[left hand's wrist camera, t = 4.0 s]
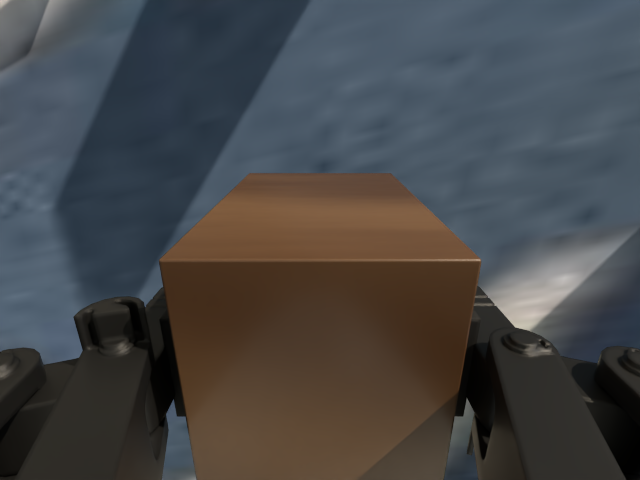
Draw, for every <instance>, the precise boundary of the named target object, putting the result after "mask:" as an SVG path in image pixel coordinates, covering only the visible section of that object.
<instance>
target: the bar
mask: <svg viewBox="0 0 640 480" xmlns="http://www.w3.org/2000/svg"><path fill="white" fill-rule="evenodd" d="M159 264H160V270H161V276H162V282H163V288H164V293H165V299H166V305H167V311H168V317H169V322H170V328H171V334H172V340H173V346H174V351H175V357H176V363H177V369H178V375H179V380H180V386H181V392H182V398H183V404H184V409H185V415H186V421H187V427H188V433H189V438H190V444H191V450H192V456H193V462H194V467H195V473H196V479H197V480H444V474H445V469H446V463H447V457H448V451H449V446H450V440H451V434H452V428H453V422H454V417H455V411H456V405H457V399H458V394H459V388H460V382H461V376H462V370H463V365H464V359H465V353H466V347H467V342H468V336H469V330H470V324H471V318H472V313H473V307H474V301H475V295H476V290H477V284H478V278H479V272H480V266H481V259H480V258H479V257H478V256H477V255H476V254H475V253H474V252H473V251H472V250H471V249H469V248H468V247H467V246H466V245H465V244H464V243H463V242H462V241H461V240H460V239H459V238H458V237H457V236H456V235H455V234H454V233H453V232H452V231H451V230H450V229H449V228H447V227H446V226H445V225H444V224H443V223H442V222H441V221H440V220H439V219H438V218H437V217H436V216H435V215H434V214H433V213H432V212H431V211H430V210H429V209H428V208H427V207H425V206H424V205H423V204H422V203H421V202H420V201H419V200H418V199H417V198H416V197H415V196H414V195H413V194H412V193H411V192H410V191H409V190H408V189H407V188H406V187H405V186H404V185H402V184H401V183H400V182H399V181H398V180H397V179H396V178H395V177H394V176H393V175H392V174H391V173H250V174H248V175H247V176H246V177H245V178H244V179H243V180H242V181H241V182H240V183H239V184H238V185H237V186H236V187H235V188H234V189H233V190H232V191H231V192H229V193H228V194H227V195H226V196H225V197H224V198H223V199H222V200H221V201H220V202H219V203H218V204H217V205H216V206H215V207H214V208H213V209H212V210H211V211H210V212H208V213H207V214H206V215H205V216H204V217H203V218H202V219H201V220H200V221H199V222H198V223H197V224H196V225H195V226H194V227H193V228H192V229H191V230H190V231H189V232H188V233H186V234H185V235H184V236H183V237H182V238H181V239H180V240H179V241H178V242H177V243H176V244H175V245H174V246H173V247H172V248H171V249H170V250H169V251H168V252H167V253H166V254H164V255H163V256H162V257H161V258H160V260H159Z"/></svg>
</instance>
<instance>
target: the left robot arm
mask: <svg viewBox="0 0 640 480" xmlns="http://www.w3.org/2000/svg"><path fill="white" fill-rule="evenodd" d="M74 321H75V324H76V328H77V331H78V335H79V338H80V342H81V345H82V349H83V351H82V353H81V355H80V357H79V358H76V359H72V360H67V361H62V362H57V363H51V364H46V365H43V362H42V359H41V356H40V353H39V352H37V351H36V350H35V349H31V348H16V349H8V350H3V351H2V352H0V480H162V474H163V467H164V459H165V452H166V445H167V437H168V422H167V417H166V413H167V411H168V409H169V407H170V405H171V403H172V401H173V399H174V403H175V408H176V414H177V416H186V415H185V409H184V404H183V398H182V392H181V386H180V380H179V375H178V369H177V363H176V357H175V351H174V346H173V340H172V334H171V328H170V322H169V317H168V311H167V305H166V299H165V293H164V288H163V287H162V288H161V289H160V290H159V291H158V292H157V294H156V295H155V296H154V297H153V299H151V300H150V302H149V303H148V304H147V305H146V307H145V306H144V302H143V301H141V300H140V299H139V298H135V297H129V296H128V297H114V298H109V299H104V300H101V301H99V302H96V303H93V304H91V305H89V306H87V307H85V308H83V309H82V310H80V311H79V312H78V313H77V314H76V315H75V316H74ZM466 399H468V400H469V402H470V404H471V406H472V408H473V410H474V417H473V422H472V428H471V433H470V438H469V443H468V449H467V454H468V455H472V452H473V447H474V451H475V458H476V466H477V473H478V480H640V350H639V349H637V348H632V347H622V346H613V347H607V348H605V349H604V350H603V351H601V354H600V357H599V360H598V363H592V362H587V361H582V360H577V359H572V358H567V357H563V356H560V355H559V353H558V351H557V349H556V348H555V347H554V346H553V345H552V344H551V342H549V341H548V340H546V339H545V338H543V337H542V336H540V335H537V334H535V333H533V332H530V331H527V330H523V329H519V328H515V327H514V326H513V325H512V324H511V322H510V321H509V320H508V319H507V318H506V317H505V316H504V314H503V313H502V312H501V311H500V310H499V309H498V308H497V306H494V303H493V302H492V301H491V300H490V299H489V298H488V296H487V295H486V294H485V293H484V292H483V291H482V289H481V288H480V287H478V286H477V290H476V295H475V301H474V307H473V313H472V318H471V324H470V330H469V336H468V342H467V347H466V353H465V359H464V365H463V370H462V376H461V382H460V388H459V394H458V399H457V405H456V411H455V416H463V415H464V410H465V404H466Z"/></svg>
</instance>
